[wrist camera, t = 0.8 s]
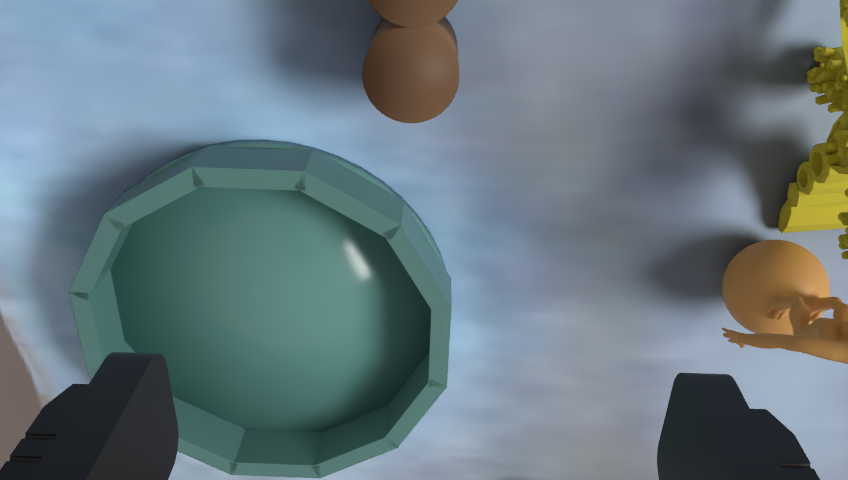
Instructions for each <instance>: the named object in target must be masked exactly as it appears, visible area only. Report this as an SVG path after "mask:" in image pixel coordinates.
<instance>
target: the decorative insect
mask: <svg viewBox="0 0 848 480" xmlns="http://www.w3.org/2000/svg"><path fill="white" fill-rule="evenodd" d="M840 17H841V33H842V47H837V48H827V47H824V48H821V47H816V48H815V49H814V52H813V53H814V60H815V61H819V62H820V66H819V67H814V68H813V69H811V70H808V71H807V77H808V79H807V82H808V83H809V84H811V83H814V84H811V85H810V86H809V89H810V91H811V92H817V93H818V94H821V93H825V95H822V96H819V97H816V102H815V103H817V104H818V105H820V104H825V103H829V102H831V103H832V104H830V105H828V111H829V112H830V113H831V112H836V111H843V112H844V113H843V114H842V115H841V116H840V117H839V119H838V120H837V121H836V122H835V123H834V125H833V127H832V129H831V132H830V134H829V137H828V139H827V142H826V143H821V144H817V145H815V146H814V147H813V149H812V151H811V153H810V155H809V161H807V162H803V163H802V164H801V165H800V167H799V169H798V172H797V182H796V183H789V189H788V194H787V197H788V199H787V200H786V202H785V203H784V205H783V206H782V208H781V210H780V215H779V230H780V231H781V233H786V232H800V231H813V230H827V229H841V228H846V230H845V231H846V233H847V234H844V235H840V236H839V238H838V239H839V242H840V243H839V247H840V248H841V249H842V250H843V249H848V0H840ZM841 255H842V258H843V259H848V251H845V252H843V253H842V254H841Z"/></svg>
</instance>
